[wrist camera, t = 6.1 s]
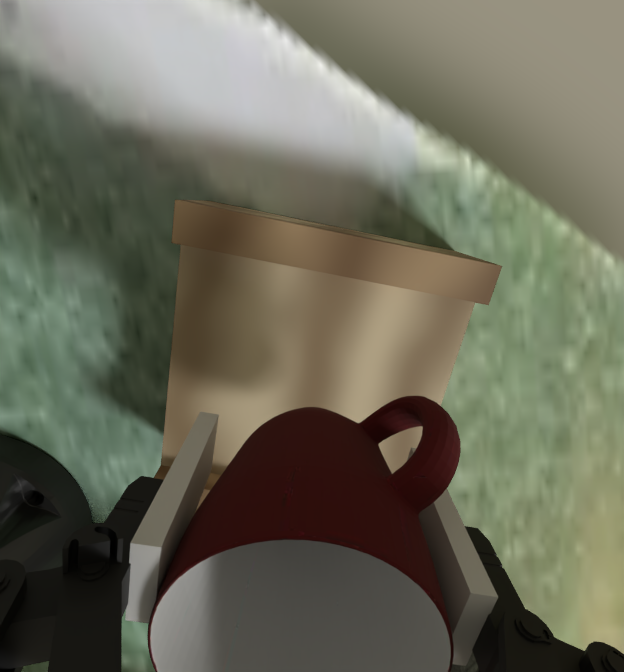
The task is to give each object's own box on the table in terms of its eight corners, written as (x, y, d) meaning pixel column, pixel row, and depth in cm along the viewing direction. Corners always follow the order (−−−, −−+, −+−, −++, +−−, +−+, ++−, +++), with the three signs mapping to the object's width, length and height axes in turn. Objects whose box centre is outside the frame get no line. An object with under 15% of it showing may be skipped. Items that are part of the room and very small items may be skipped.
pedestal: (182, 445, 30) (149, 508, 24) (208, 200, 24) (175, 199, 18) (385, 478, 31) (404, 546, 25) (455, 251, 26) (502, 266, 19)
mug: (337, 293, 17) (351, 396, 8) (465, 401, 19) (606, 599, 9) (201, 447, 20) (88, 662, 11) (320, 532, 22) (316, 788, 12)
